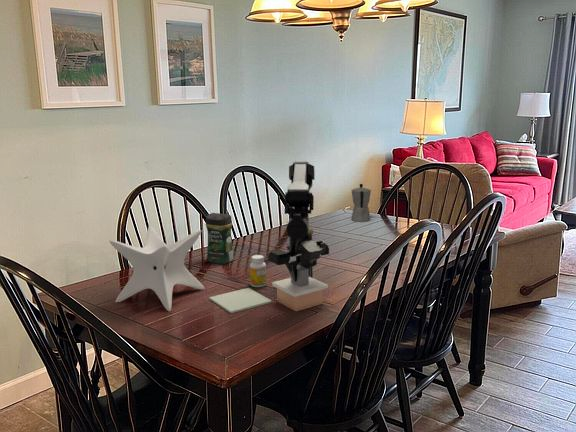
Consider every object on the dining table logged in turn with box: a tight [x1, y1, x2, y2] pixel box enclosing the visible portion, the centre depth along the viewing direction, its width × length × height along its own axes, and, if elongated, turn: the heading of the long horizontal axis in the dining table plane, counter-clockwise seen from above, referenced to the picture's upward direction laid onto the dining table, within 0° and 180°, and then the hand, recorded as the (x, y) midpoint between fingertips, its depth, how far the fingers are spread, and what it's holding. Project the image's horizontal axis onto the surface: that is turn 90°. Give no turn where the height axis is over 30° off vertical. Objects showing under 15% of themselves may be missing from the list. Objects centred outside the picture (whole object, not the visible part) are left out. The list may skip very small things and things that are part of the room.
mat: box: [208, 287, 273, 314], centre depth 168 cm, size 14×14×1 cm
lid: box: [271, 265, 329, 297], centre depth 164 cm, size 12×12×6 cm
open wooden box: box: [276, 287, 324, 312], centre depth 165 cm, size 10×10×5 cm
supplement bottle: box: [249, 254, 267, 288], centre depth 181 cm, size 5×5×10 cm
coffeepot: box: [351, 183, 372, 223], centre depth 267 cm, size 15×9×18 cm, turn 175°
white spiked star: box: [108, 225, 205, 312], centre depth 171 cm, size 20×20×20 cm
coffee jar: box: [205, 212, 234, 265], centre depth 206 cm, size 10×8×19 cm
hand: (299, 280), depth 164 cm, fingers closed on lid, 3 cm apart
